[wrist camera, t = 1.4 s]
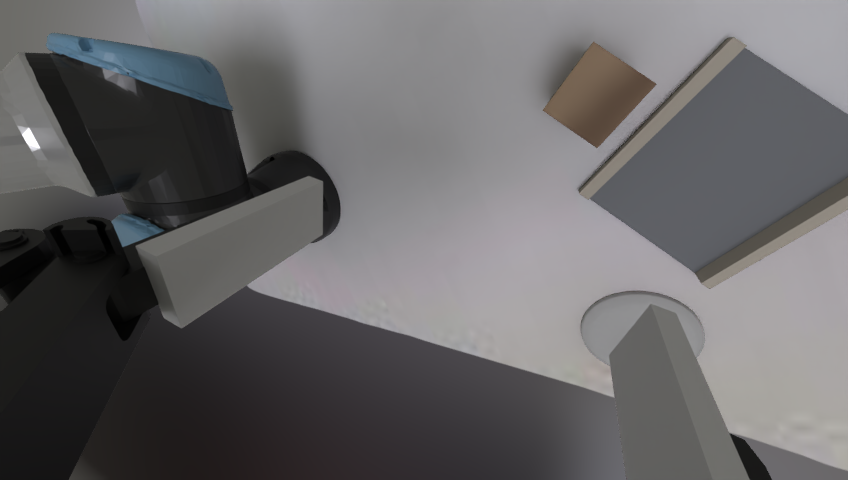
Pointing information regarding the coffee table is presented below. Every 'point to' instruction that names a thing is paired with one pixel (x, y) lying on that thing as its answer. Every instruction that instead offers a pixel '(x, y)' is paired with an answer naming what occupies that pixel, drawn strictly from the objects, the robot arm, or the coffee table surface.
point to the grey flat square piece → (729, 166)
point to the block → (598, 95)
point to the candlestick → (632, 321)
